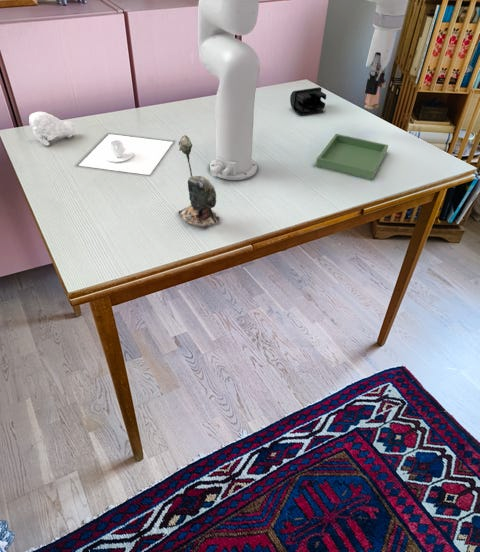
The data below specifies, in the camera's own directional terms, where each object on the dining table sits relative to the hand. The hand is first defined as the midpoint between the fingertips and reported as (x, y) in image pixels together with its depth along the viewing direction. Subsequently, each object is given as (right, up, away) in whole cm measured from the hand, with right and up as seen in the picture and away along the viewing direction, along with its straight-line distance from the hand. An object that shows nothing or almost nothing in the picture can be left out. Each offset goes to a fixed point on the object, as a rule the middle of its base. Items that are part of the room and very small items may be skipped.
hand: (373, 89), depth 133 cm
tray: (-7, -21, -3) cm, 22 cm away
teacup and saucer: (-70, -19, -3) cm, 73 cm away
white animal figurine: (-92, -14, +2) cm, 93 cm away
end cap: (-16, +2, +23) cm, 28 cm away
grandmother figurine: (0, -4, +4) cm, 5 cm away
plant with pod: (-47, -41, -27) cm, 68 cm away
